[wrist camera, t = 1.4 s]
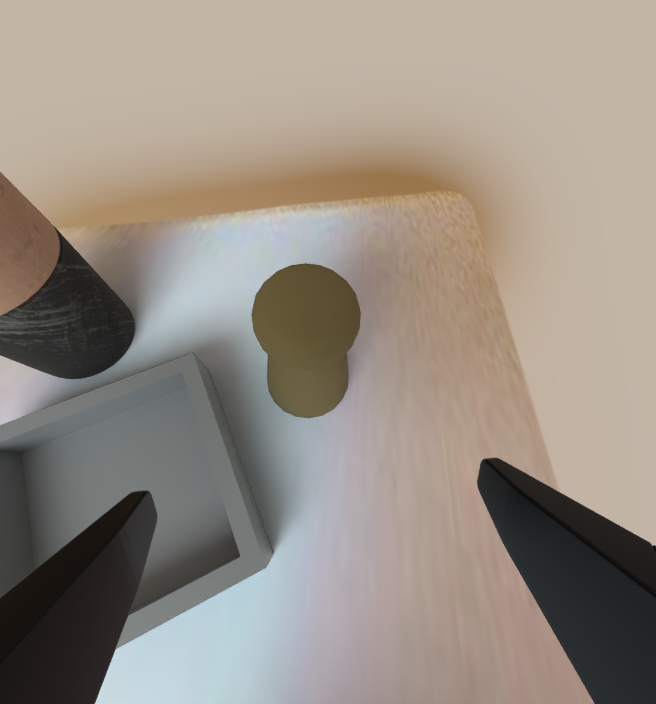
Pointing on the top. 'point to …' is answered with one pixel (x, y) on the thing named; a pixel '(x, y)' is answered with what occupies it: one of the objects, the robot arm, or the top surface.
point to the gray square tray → (135, 486)
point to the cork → (306, 337)
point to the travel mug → (54, 298)
